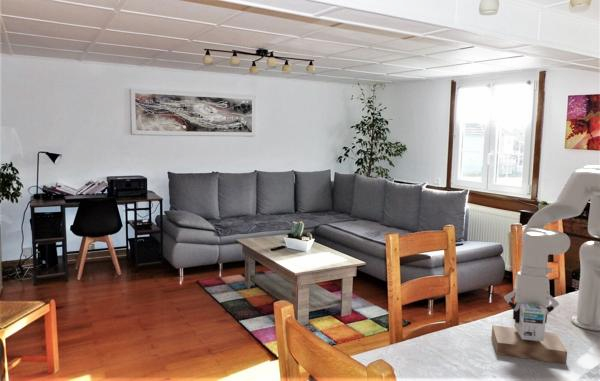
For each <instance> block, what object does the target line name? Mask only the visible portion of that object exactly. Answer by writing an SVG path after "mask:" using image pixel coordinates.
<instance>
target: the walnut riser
mask: <svg viewBox="0 0 600 381" xmlns="http://www.w3.org/2000/svg"><path fill="white" fill-rule="evenodd" d="M491 327H492V328H491V339H492V343H493V346H494V350H495V354H496V355H501V356H506V357H515V358H522V359H528V360H536V361H543V362H549V363H557V364H563V365H565V364H566V365H567V358H568V350H567V349H566V347H565V345H564V344H563V342H562V340H561V339H560V337H559V335H558V333H555V332H550V331H549V332H548V331H544V341H534V340H525V339H522V338H521V337H520V335H519V333H518V332H517V330H516V328H515V327H508V326H502V325H501V326H500V325H492V326H491Z"/></svg>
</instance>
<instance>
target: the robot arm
mask: <svg viewBox="0 0 600 381" xmlns="http://www.w3.org/2000/svg"><path fill="white" fill-rule="evenodd" d="M589 200H590V202H589ZM588 202H589V203H590V204H589V206H590V207H589V213H588V220H587V221H588V222H587V233H588V234H589V235H590V236H591V237H594V238H597V239H600V165H599V164H591V165H590V164H589V165H585V166H583V167H581V168H579V169H576V170H574V171H573V172H572V173H571V174H570V175H569V177H568V180H566V182H565V185H564V187H563V188H562V189H561V192H560V193H559V195H558V196H557V199H556V200H555V201H554V202H553V201H552V202H551V203H549V204H547V205H546V206H544V207H542V208H540V209H539V210H538V211H536V212H535V213H533V215H532V216H531V217H530V218H529V220H528V222H527V223H526V226H525V227H524V229H523V231H522V235H521V242H522V245H521V246H522V247H521V249H522V250H521V259H520V260H521V262H520V271H517V274H516V276H515V281H514V287H513V290H512V291H511V292H509V293H508V294H506V295H504V300H505V301H506V303H507V304H508V305H509V306H510V308H512V311H513V312H512V313H513V315H512V319H513V320H514V323H515V322H516V323H519V308H520V305H521V304H530V305H538V306H543V307H544V308H545V309H546V318H545V324H547V319H548V318H547V317H548V315H549V314H550V313H551V312H552V311H554V309H556V308H557V307H559V305H560V304H559V302H558V301H557V299H555V298H554V297H553V296H552V295H551V294H550V292H551V290H550V279H549V275H548V274H549V273H550V274H551V273H552V272H553V270H552V267H551V268H550V267H548V262H549V255H561V254H564V253H567V251H568V250H569V249H570V247H571V239H570V237H569V236H568V235H567V234H566V233H564V232H561V231H558V230H554V229H553V230H552V229H549V228H545V227H546V226H547V225H548V224H551V223H553V222H556V221H561V220H565V219H571V218H574V217H578V216H580V215H581V214H582V213H583V212H584V211H585V210H584V209H585V207H586V206H587V204H588ZM579 262H580V275H579V276H580V277H579V283H578V284H579V286H578V295H577V305H576V306H577V307H576V315H572V317H571V318H570V321H571V323H572V324H573V325H575V326H577V327H580V328H582V329H585V330H589V331H593V332H594V331H596V332H600V241H598V240H590V241H586V242H584V243H582V244H581V245H580V247H579ZM512 298H513V299H514V302H513V301H512V300H511V299H512ZM550 302H551V304H550Z"/></svg>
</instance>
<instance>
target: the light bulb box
mask: <svg viewBox="0 0 600 381" xmlns="http://www.w3.org/2000/svg"><path fill="white" fill-rule="evenodd" d="M545 318H546V309H545V308H544V307H543V306H538V305H530V304H521V305H520V308H519V323H516V322H515V321H514V328H516V330H517V332H518V333H519V335H520V337H521V338H522V339H525V340H534V341H544V332H545V328H546V323H545Z"/></svg>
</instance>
